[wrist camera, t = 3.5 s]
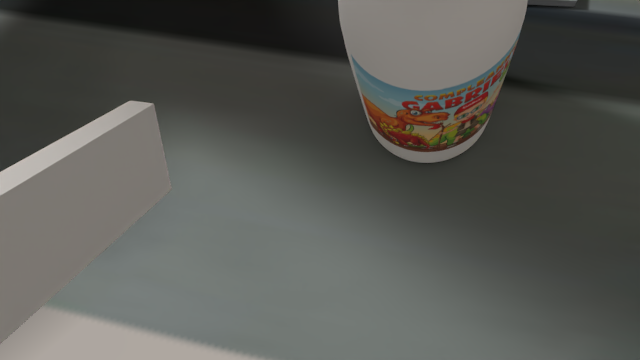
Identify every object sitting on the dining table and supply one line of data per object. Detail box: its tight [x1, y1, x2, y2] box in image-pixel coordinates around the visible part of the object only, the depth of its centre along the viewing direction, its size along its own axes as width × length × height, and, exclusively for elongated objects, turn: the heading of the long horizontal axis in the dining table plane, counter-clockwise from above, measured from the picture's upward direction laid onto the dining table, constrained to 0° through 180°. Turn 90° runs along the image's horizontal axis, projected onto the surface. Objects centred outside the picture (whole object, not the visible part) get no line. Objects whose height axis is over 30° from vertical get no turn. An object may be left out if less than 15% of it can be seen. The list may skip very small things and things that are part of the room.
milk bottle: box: [338, 0, 528, 163], centre depth 20 cm, size 8×8×20 cm
